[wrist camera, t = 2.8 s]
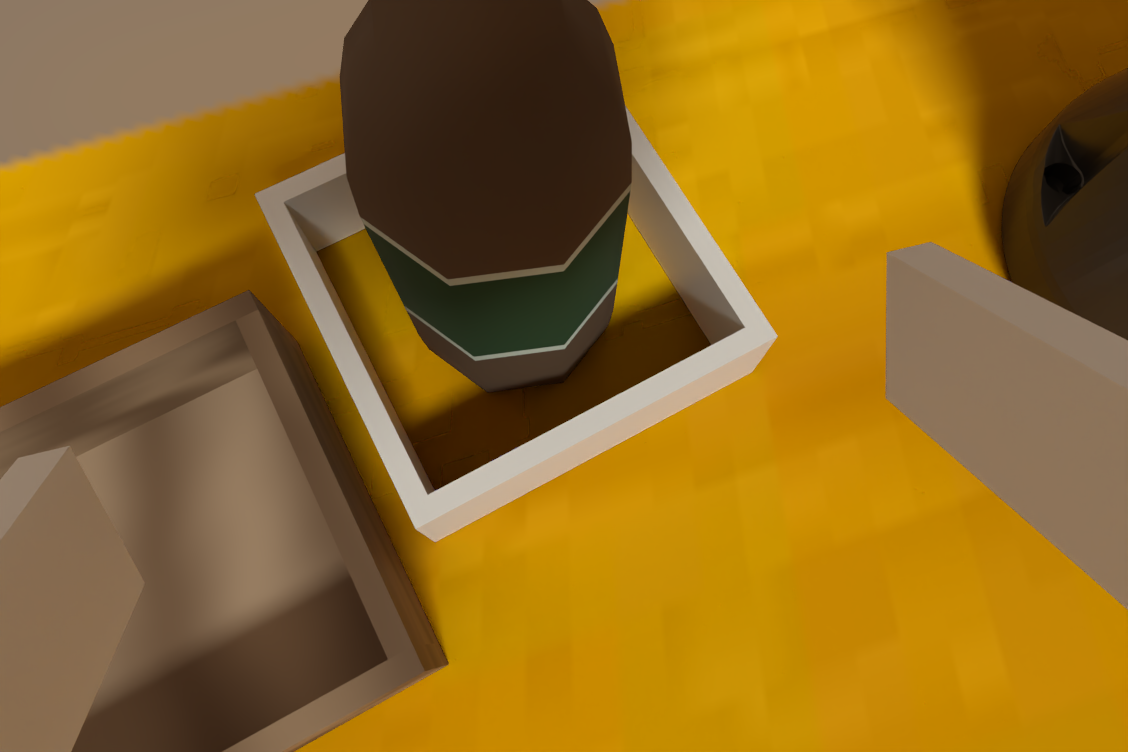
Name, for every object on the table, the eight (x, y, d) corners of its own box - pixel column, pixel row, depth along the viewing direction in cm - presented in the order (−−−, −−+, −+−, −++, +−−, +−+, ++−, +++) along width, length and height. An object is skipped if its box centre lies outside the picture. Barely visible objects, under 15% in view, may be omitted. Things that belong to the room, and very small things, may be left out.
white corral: (582, 108, 35) (584, 44, 31) (752, 372, 31) (777, 336, 28) (290, 244, 33) (254, 194, 29) (435, 542, 29) (415, 529, 26)
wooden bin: (296, 341, 32) (249, 289, 27) (448, 664, 28) (424, 671, 23) (-45, 506, 30) (-161, 483, 25) (71, 876, 26) (-38, 930, 21)
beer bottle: (586, 422, 31) (644, -183, 8) (391, 373, 31) (-83, -320, 8) (632, 243, 33) (782, -634, 10) (450, 200, 34) (200, -717, 11)
